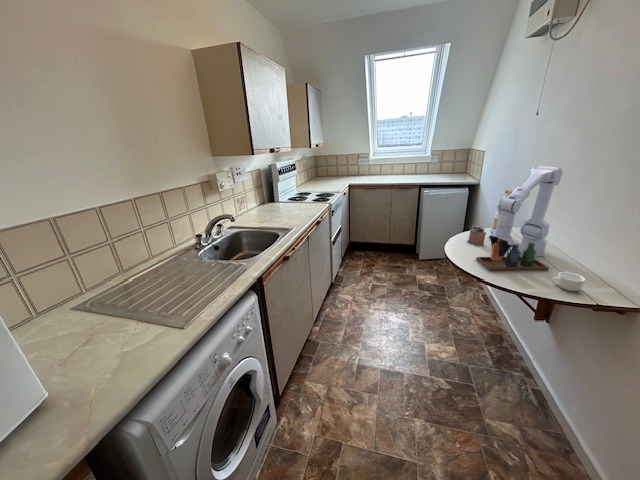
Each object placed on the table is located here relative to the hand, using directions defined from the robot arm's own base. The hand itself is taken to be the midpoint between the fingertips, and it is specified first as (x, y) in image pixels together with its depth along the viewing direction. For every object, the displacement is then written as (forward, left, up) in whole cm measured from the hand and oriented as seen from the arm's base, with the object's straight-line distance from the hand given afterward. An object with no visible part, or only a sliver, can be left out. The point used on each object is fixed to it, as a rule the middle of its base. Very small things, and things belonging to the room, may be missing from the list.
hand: (497, 253), depth 122 cm
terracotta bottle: (0, 0, -3) cm, 3 cm away
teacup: (-17, +19, -7) cm, 26 cm away
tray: (-7, 0, -7) cm, 10 cm away
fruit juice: (-22, -34, -7) cm, 41 cm away
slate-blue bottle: (-7, 0, -6) cm, 9 cm away
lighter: (-5, -27, -7) cm, 28 cm away
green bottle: (-14, 0, -6) cm, 15 cm away
